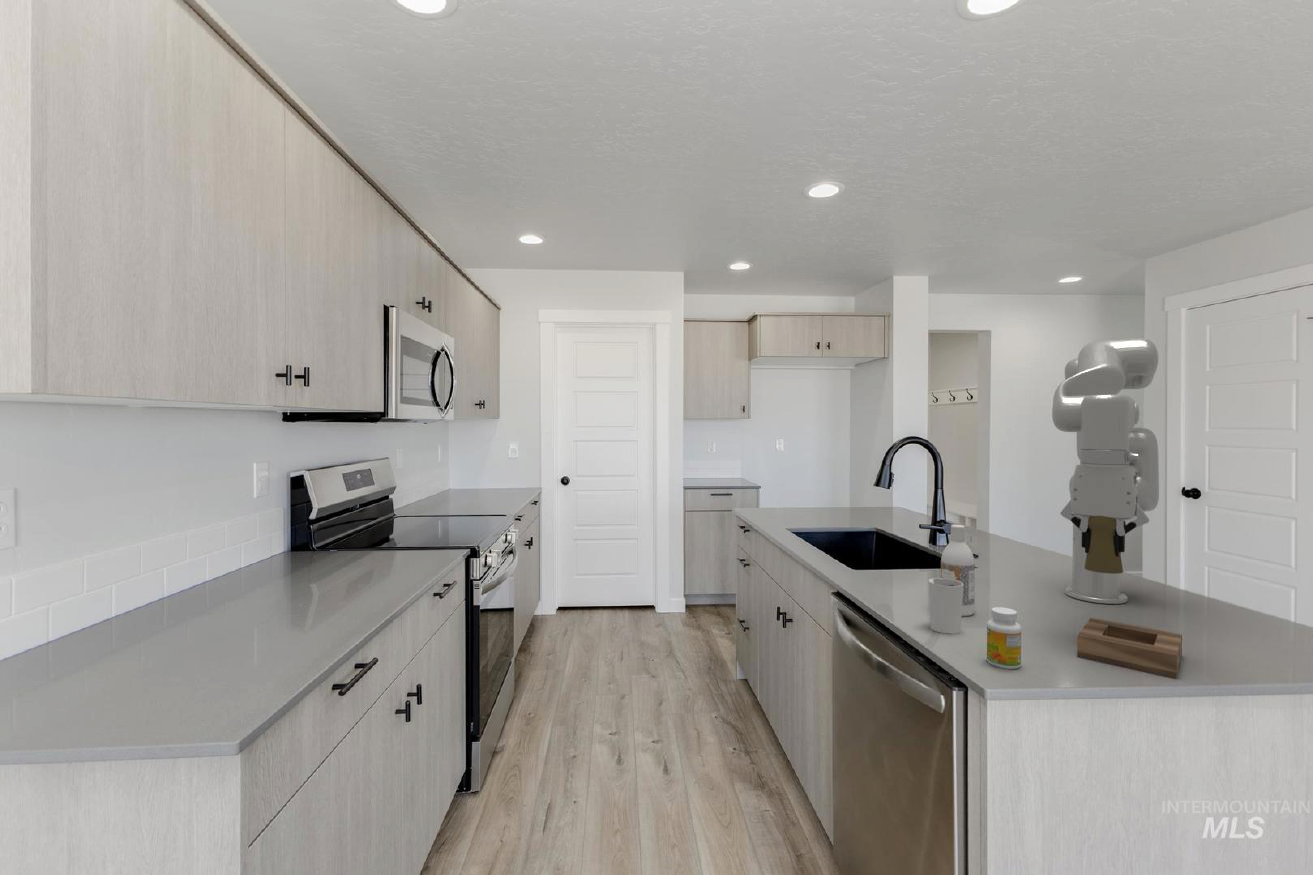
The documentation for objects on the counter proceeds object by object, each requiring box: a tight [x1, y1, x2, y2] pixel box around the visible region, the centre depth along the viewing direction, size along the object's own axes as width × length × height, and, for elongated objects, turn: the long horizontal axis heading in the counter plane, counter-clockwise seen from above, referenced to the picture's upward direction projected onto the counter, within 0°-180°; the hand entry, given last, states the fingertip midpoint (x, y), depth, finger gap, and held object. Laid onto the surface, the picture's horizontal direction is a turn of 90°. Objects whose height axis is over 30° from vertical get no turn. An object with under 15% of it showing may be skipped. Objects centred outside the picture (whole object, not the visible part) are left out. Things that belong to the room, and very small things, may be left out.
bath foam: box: [940, 524, 976, 617], centre depth 138 cm, size 7×7×20 cm
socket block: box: [1076, 617, 1183, 679], centre depth 112 cm, size 14×14×4 cm
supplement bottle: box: [986, 606, 1022, 670], centre depth 109 cm, size 5×5×10 cm
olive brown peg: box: [1084, 516, 1124, 574], centre depth 116 cm, size 6×6×11 cm
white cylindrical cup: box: [928, 577, 963, 635], centre depth 127 cm, size 7×7×10 cm
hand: (1102, 552), depth 116 cm, fingers closed on olive brown peg, 3 cm apart
